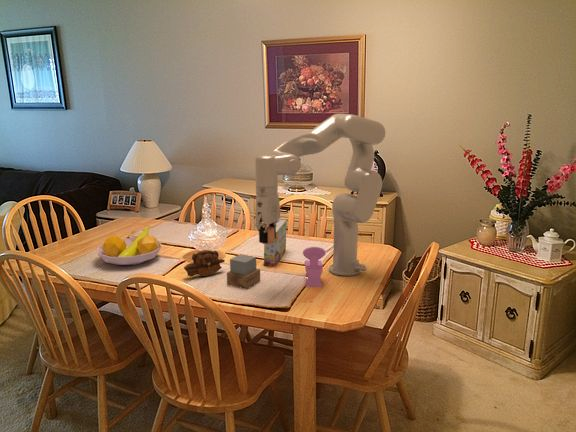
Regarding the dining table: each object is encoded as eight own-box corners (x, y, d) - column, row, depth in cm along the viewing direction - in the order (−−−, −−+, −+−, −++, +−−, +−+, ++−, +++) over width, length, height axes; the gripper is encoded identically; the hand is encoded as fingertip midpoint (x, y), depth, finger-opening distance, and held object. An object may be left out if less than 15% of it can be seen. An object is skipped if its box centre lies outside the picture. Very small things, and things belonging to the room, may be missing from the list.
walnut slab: (260, 281, 182) (260, 269, 181) (247, 289, 175) (247, 277, 174) (240, 277, 187) (240, 265, 185) (227, 285, 179) (226, 272, 178)
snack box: (276, 267, 197) (276, 232, 193) (263, 266, 198) (263, 231, 195) (286, 251, 217) (287, 218, 214) (274, 250, 218) (274, 218, 215)
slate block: (256, 269, 181) (256, 257, 180) (245, 275, 175) (245, 262, 174) (241, 266, 184) (240, 254, 183) (230, 272, 178) (229, 259, 177)
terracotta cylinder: (277, 241, 172) (277, 227, 170) (270, 244, 167) (269, 231, 166) (265, 239, 174) (264, 225, 173) (257, 242, 170) (257, 229, 168)
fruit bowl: (127, 275, 187) (124, 248, 184) (84, 262, 201) (81, 236, 198) (179, 256, 210) (177, 231, 207) (137, 245, 224) (135, 222, 221)
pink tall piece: (323, 277, 186) (323, 241, 182) (325, 286, 177) (326, 248, 174) (301, 278, 186) (302, 241, 182) (302, 286, 177) (303, 248, 173)
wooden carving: (188, 281, 181) (187, 257, 179) (183, 278, 185) (182, 253, 182) (227, 272, 191) (226, 248, 188) (221, 269, 194) (220, 246, 192)
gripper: (263, 196, 157) (264, 249, 161) (287, 187, 171) (288, 235, 176) (244, 194, 160) (245, 245, 165) (269, 185, 175) (270, 233, 179)
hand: (267, 240), depth 170 cm, fingers closed on terracotta cylinder, 4 cm apart
